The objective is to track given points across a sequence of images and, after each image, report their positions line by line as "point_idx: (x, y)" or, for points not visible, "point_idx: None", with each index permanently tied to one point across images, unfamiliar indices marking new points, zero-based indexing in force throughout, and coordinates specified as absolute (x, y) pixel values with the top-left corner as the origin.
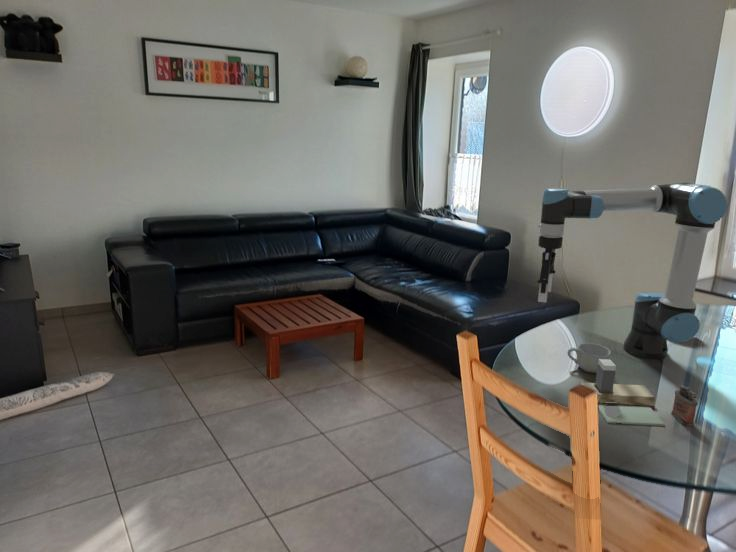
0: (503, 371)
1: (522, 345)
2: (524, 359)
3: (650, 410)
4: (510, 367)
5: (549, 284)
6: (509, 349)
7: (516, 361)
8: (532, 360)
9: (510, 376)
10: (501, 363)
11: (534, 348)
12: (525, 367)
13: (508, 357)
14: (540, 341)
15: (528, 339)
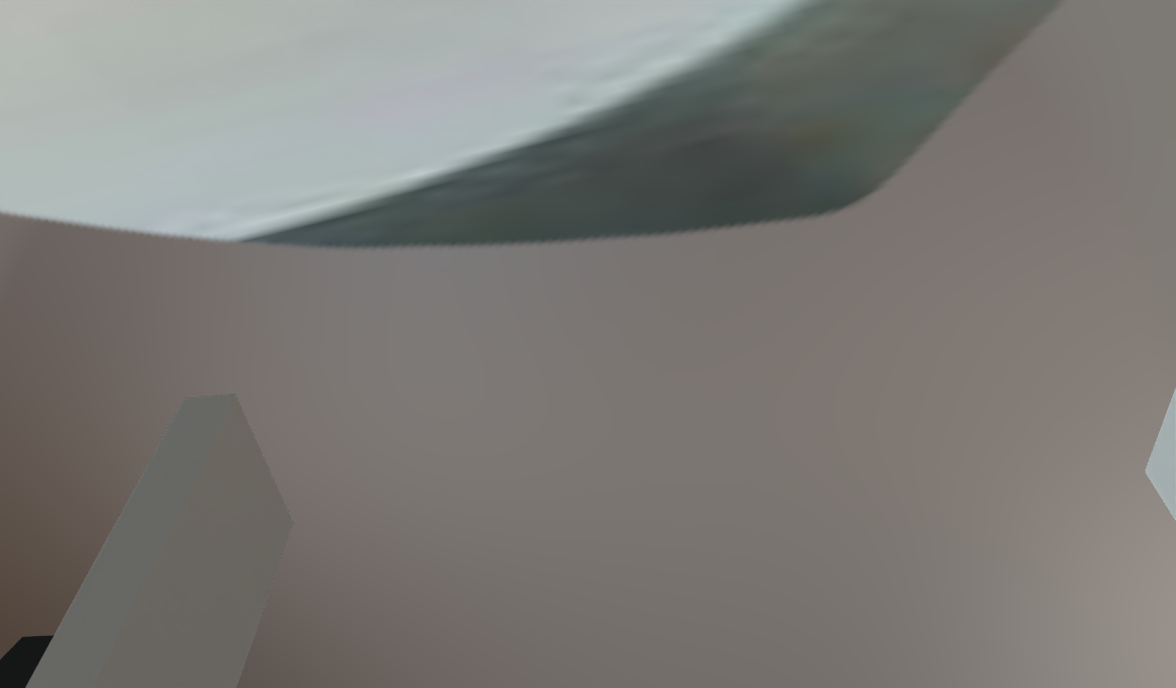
0: (883, 164)
1: (237, 175)
2: (540, 83)
3: None
4: (777, 139)
5: (182, 585)
6: (403, 239)
7: (624, 130)
8: (520, 14)
9: (966, 92)
10: (728, 217)
11: (223, 68)
12: (717, 30)
13: (575, 204)
14: (5, 61)
15: (57, 166)
